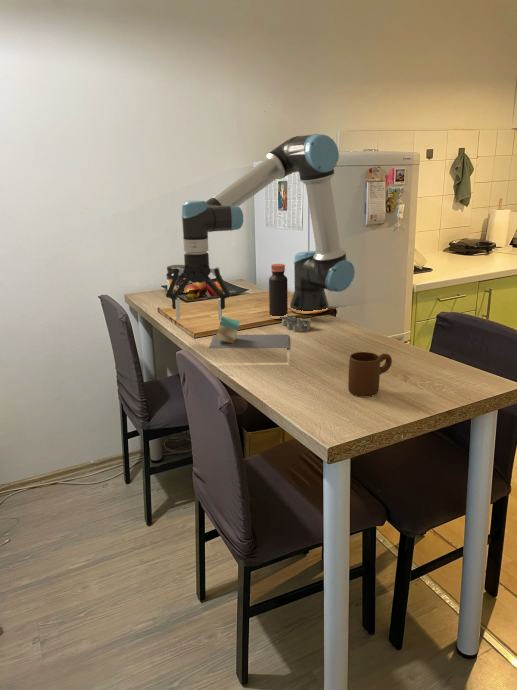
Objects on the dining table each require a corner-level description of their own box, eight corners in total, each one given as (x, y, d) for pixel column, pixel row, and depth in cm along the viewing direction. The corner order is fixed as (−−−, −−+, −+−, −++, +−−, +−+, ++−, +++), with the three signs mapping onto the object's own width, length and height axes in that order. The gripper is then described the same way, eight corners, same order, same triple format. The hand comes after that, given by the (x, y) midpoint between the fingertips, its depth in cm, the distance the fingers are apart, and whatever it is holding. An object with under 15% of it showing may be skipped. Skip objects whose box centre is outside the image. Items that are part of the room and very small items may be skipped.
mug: (380, 381, 143) (382, 347, 140) (399, 391, 137) (401, 355, 134) (342, 389, 138) (343, 354, 135) (359, 400, 132) (361, 363, 129)
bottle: (267, 319, 202) (266, 266, 196) (272, 315, 208) (271, 263, 202) (285, 320, 200) (284, 266, 194) (289, 316, 206) (289, 263, 200)
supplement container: (163, 294, 246) (161, 268, 242) (174, 289, 255) (172, 264, 252) (184, 295, 243) (182, 268, 239) (194, 290, 252) (193, 264, 248)
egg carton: (313, 330, 189) (313, 319, 188) (295, 333, 186) (295, 322, 184) (296, 323, 198) (296, 312, 197) (278, 326, 194) (278, 315, 193)
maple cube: (235, 338, 179) (240, 321, 177) (233, 344, 173) (238, 326, 171) (217, 333, 179) (222, 316, 177) (215, 338, 173) (220, 321, 171)
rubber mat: (288, 336, 182) (288, 334, 182) (288, 349, 169) (288, 347, 169) (214, 336, 183) (214, 334, 183) (208, 349, 170) (208, 348, 170)
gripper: (153, 254, 165) (158, 321, 171) (235, 254, 164) (237, 322, 170) (159, 250, 172) (163, 315, 179) (237, 250, 171) (239, 315, 177)
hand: (199, 318), depth 174 cm, fingers open, 13 cm apart
